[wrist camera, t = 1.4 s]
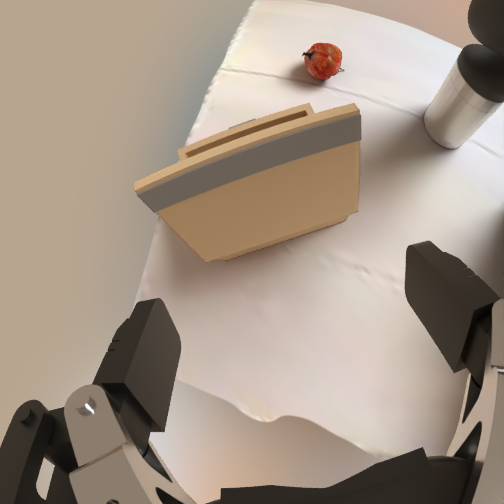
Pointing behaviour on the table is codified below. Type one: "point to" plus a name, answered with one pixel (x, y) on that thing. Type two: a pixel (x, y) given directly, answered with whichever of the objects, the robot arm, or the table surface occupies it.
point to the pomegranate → (323, 60)
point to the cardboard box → (243, 131)
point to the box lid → (261, 184)
